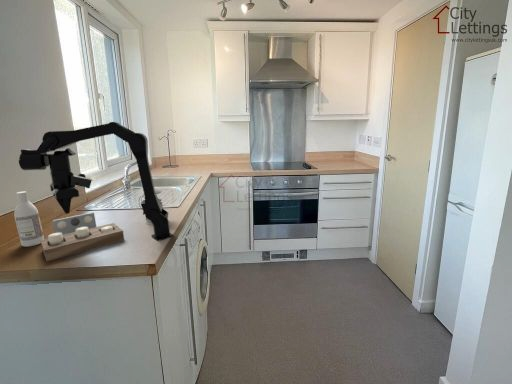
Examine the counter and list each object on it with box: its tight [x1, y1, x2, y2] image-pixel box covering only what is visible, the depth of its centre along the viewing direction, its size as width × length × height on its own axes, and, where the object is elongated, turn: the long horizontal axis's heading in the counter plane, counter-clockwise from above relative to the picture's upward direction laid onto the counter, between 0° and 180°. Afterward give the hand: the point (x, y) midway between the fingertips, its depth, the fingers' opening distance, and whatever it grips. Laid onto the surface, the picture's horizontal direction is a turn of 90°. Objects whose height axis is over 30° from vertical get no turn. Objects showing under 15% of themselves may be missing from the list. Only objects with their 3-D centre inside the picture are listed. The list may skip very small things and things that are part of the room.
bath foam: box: [13, 191, 45, 248], centre depth 103 cm, size 7×7×20 cm
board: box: [40, 222, 125, 262], centre depth 101 cm, size 12×24×4 cm, turn 132°
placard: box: [52, 211, 97, 235], centre depth 111 cm, size 1×14×8 cm, turn 132°
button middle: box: [75, 227, 90, 239], centre depth 101 cm, size 4×4×4 cm
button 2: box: [101, 226, 113, 233], centre depth 106 cm, size 4×4×4 cm
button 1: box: [47, 232, 64, 245], centre depth 96 cm, size 4×4×4 cm
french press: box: [138, 166, 164, 226], centre depth 123 cm, size 10×12×25 cm
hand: (67, 213), depth 97 cm, fingers closed
